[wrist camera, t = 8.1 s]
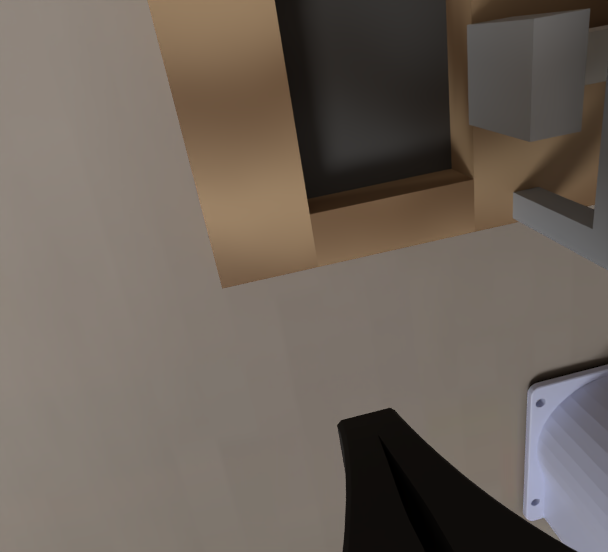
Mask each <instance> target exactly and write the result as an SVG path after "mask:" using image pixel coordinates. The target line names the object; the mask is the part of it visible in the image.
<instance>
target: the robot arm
mask: <svg viewBox="0 0 608 552" xmlns="http://www.w3.org/2000/svg"><path fill="white" fill-rule="evenodd" d="M539 399H540V400H539ZM538 400H539V401H538ZM337 427H338V433H339V438H340V444H341V450H342V456H343V462H344V467H345V473H346V513H345V532H344V544H343V552H608V364H607V365H604V366H600V367H596V368H592V369H588V370H584V371H580V372H576V373H573V374H569V375H565V376H561V377H557V378H553V379H549V380H545V381H542V382H538V383H535V384H533V385H532V386H531V387H530V388H529V390H528V393H527V419H526V446H525V472H524V499H523V514H524V516H525V517H526V518H527V519H528V520H530V521H533V520H537V519H541V518H545V519H546V521H547V522H548V523H549V525H550V526H551V528H552V529H553V530H554V532H555V533H556V534H557V536H558V537H559V539H560V540H561V541H562V543H561V542H560V541H558V540H556V539H554V538H553V537H551V536H549V535H548V534H546V533H545V532H543V531H541V530H540V529H538V528H537V527H535V526H533V525H532V524H530V523H529V522H527V521H526V520H524V519H523V518H521V517H520V516H518V515H517V514H515V513H514V512H512V511H511V510H509V509H508V508H506V507H505V506H504V505H502V504H501V503H499V502H498V501H497V500H495V499H494V498H493V497H491V496H490V495H488V494H487V493H486V492H485V491H483V490H482V489H481V488H479V487H478V486H477V485H476V484H474V483H473V482H472V481H470V480H469V479H468V478H467V477H465V476H464V475H463V474H462V473H461V472H459V471H458V470H457V469H456V468H455V467H453V466H452V465H451V464H450V463H449V462H448V461H447V460H445V459H444V458H443V457H442V456H441V455H440V454H438V453H437V452H436V451H435V450H434V449H433V448H432V447H431V446H430V445H429V444H427V443H426V442H425V441H424V440H423V439H422V438H421V437H420V436H419V435H418V434H417V433H416V432H415V431H414V430H413V429H412V428H411V427H410V426H409V425H408V424H407V423H406V422H405V421H404V420H403V419H402V418H401V417H400V416H399V415H398V413H397V412H396V411H395V410H393V409H391V408H387V409H383V410H380V411H376V412H372V413H368V414H364V415H360V416H356V417H352V418H348V419H344V420H341V421H340V422H339V424H338V425H337Z"/></svg>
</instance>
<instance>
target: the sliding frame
mask: <svg viewBox="0 0 608 552" xmlns="http://www.w3.org/2000/svg"><path fill="white" fill-rule="evenodd" d="M589 19H590V8H589V9H580V10H570V11H561V12H551V13H542V14H532V15H523V16H513V17H508V18H502V19H497V20H491V21H486V22H480V23H475V24H469V25H467V52H468V103H469V125H472V126H475V127H479V128H482V129H486V130H489V131H493V132H497V133H500V134H504V135H507V136H511V137H514V138H518V139H521V140H525V141H528V142H532V141H537V140H542V139H547V138H552V137H556V136H561V135H566V134H571V133H575V132H580V131H581V127H582V113H583V100H584V86H585V85H589V84H594V83H599V82H604V81H606V78H607V67H608V25H605V26H599V27H594V28H589Z"/></svg>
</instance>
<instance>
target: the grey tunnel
mask: <svg viewBox="0 0 608 552" xmlns="http://www.w3.org/2000/svg"><path fill="white" fill-rule="evenodd" d="M513 219H515V220H517V221H519V222H521V223H522V224H524V225H526V226H528V227H530V228H532V229H533V230H535V231H537V232H539V233H541V234H543V235H544V236H546V237H548V238H550V239H552V240H554V241H555V242H557V243H559V244H561V245H563V246H564V247H566V248H568V249H570V250H572V251H574V252H575V253H577V254H579V255H581V256H583V257H585V258H586V259H588V260H590V261H592V262H594V263H596V264H597V265H599V266H601V267H603V268H605V269H607V270H608V67H607V78H606V89H605V100H604V111H603V122H602V133H601V144H600V155H599V166H598V177H597V188H596V199H595V209H591V208H589V207H587V206H584V205H582V204H579V203H577V202H574V201H572V200H570V199H567V198H565V197H562V196H560V195H557V194H555V193H552V192H550V191H548V190H545V189H543V188H540V187H535V188H531V189H526V190H522V191H517V192H513Z"/></svg>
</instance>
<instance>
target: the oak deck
mask: <svg viewBox="0 0 608 552" xmlns="http://www.w3.org/2000/svg"><path fill="white" fill-rule="evenodd" d="M148 4H149V8H150V12H151V15H152V19H153V23H154V27H155V31H156V35H157V39H158V42H159V46H160V50H161V54H162V58H163V62H164V66H165V69H166V73H167V77H168V81H169V85H170V89H171V93H172V96H173V100H174V104H175V108H176V112H177V116H178V119H179V123H180V127H181V131H182V135H183V139H184V143H185V146H186V150H187V154H188V158H189V162H190V166H191V170H192V173H193V177H194V181H195V185H196V189H197V193H198V196H199V200H200V204H201V208H202V212H203V216H204V220H205V223H206V227H207V231H208V235H209V239H210V243H211V247H212V250H213V254H214V258H215V262H216V266H217V270H218V274H219V277H220V281H221V285H222V288H227V287H231V286H235V285H240V284H244V283H249V282H253V281H258V280H262V279H267V278H271V277H275V276H280V275H284V274H289V273H293V272H298V271H302V270H307V269H311V268H315V267H320V266H324V265H329V264H333V263H338V262H342V261H347V260H351V259H356V258H360V257H364V256H369V255H373V254H378V253H382V252H387V251H391V250H396V249H400V248H404V247H409V246H413V245H418V244H422V243H427V242H431V241H436V240H440V239H444V238H449V237H453V236H458V235H462V234H467V233H471V232H476V231H480V230H484V229H489V228H493V227H498V226H502V225H507V224H511V223H516V222H519V221H517V220H515V219H513V192H517V191H522V190H526V189H531V188H535V187H540V188H543V189H545V190H548V191H550V192H552V193H555V194H557V195H560V196H562V197H565V198H567V199H570V200H572V201H574V202H577V203H579V204H582V205H584V206H591V205H595V199H596V188H597V177H598V166H599V155H600V144H601V133H602V122H603V111H604V100H605V89H606V81H604V82H599V83H594V84H589V85H585V86H584V100H583V113H582V127H581V131H580V132H575V133H571V134H566V135H561V136H556V137H552V138H547V139H542V140H537V141H532V142H528V141H525V140H521V139H518V138H514V137H511V136H507V135H504V134H500V133H497V132H493V131H489V130H486V129H482V128H479V127H475V126H472V125H469V103H468V52H467V25H469V24H475V23H480V22H486V21H491V20H497V19H502V18H508V17H513V16H523V15H532V14H542V13H551V12H561V11H570V10H580V9H589V8H590V19H589V28H594V27H599V26H605V25H608V0H148Z"/></svg>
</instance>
